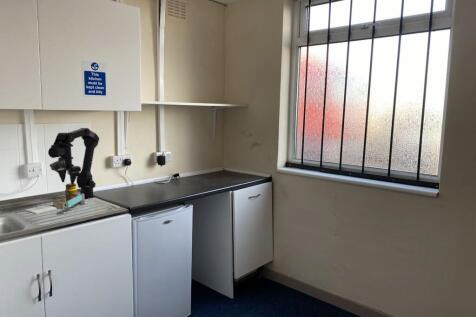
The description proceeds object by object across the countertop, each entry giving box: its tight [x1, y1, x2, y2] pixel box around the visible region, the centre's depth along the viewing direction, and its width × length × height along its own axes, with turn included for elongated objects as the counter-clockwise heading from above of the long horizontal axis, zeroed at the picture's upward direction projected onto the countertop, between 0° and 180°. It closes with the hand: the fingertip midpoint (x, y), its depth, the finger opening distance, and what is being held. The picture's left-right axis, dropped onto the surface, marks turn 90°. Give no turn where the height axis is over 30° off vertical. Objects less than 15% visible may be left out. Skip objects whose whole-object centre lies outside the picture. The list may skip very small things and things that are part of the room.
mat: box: [24, 204, 58, 215], centre depth 194 cm, size 11×11×1 cm
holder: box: [52, 193, 86, 209], centre depth 203 cm, size 12×12×6 cm
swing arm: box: [65, 194, 82, 209], centre depth 195 cm, size 16×1×3 cm, turn 179°
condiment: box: [64, 182, 81, 208], centre depth 203 cm, size 7×8×12 cm
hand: (67, 183), depth 202 cm, fingers open, 9 cm apart
